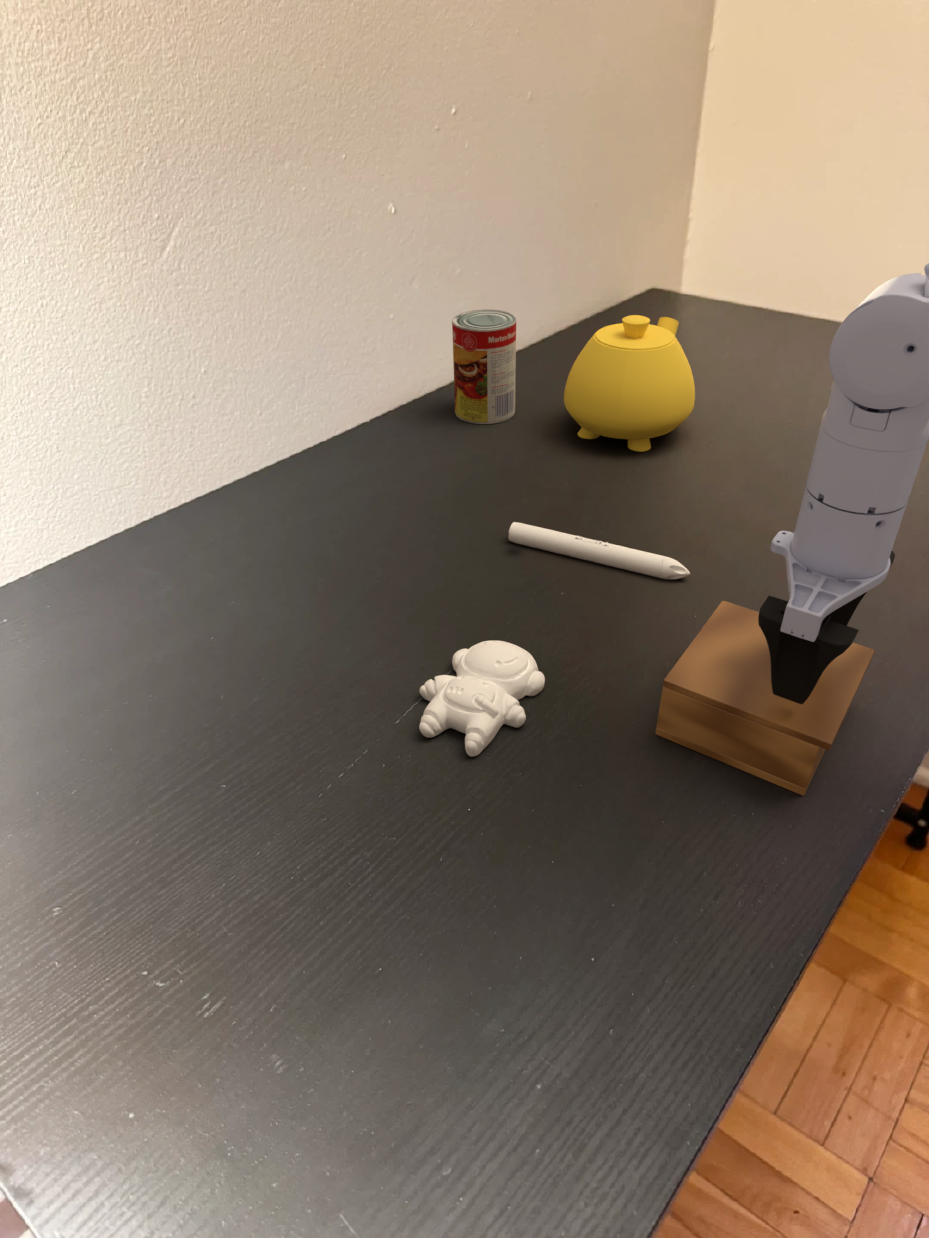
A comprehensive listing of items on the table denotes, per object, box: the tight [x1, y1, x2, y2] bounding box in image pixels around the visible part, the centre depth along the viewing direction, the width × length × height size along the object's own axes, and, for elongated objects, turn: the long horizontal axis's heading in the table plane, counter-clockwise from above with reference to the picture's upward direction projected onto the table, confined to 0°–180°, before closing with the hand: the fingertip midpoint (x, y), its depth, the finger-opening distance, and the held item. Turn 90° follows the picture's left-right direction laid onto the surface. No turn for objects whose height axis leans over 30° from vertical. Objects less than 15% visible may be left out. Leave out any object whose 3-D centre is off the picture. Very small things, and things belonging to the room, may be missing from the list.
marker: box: [507, 521, 691, 580], centre depth 81 cm, size 18×2×2 cm, turn 63°
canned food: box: [451, 308, 517, 425], centre depth 106 cm, size 8×8×12 cm
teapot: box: [563, 314, 696, 452], centre depth 102 cm, size 20×16×14 cm
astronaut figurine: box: [418, 639, 546, 758], centre depth 65 cm, size 9×12×3 cm
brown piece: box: [662, 600, 876, 751], centre depth 59 cm, size 12×11×4 cm
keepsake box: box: [654, 686, 827, 797], centre depth 62 cm, size 11×11×5 cm
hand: (806, 665), depth 59 cm, fingers open, 7 cm apart
